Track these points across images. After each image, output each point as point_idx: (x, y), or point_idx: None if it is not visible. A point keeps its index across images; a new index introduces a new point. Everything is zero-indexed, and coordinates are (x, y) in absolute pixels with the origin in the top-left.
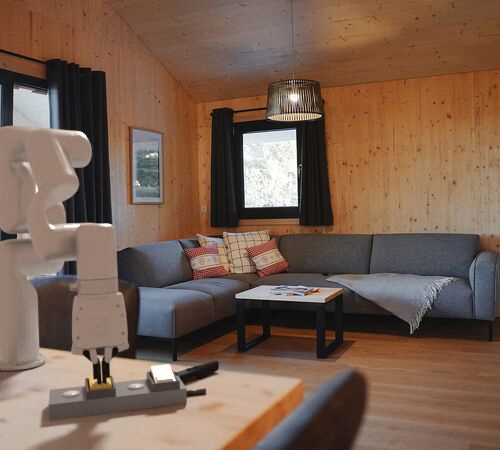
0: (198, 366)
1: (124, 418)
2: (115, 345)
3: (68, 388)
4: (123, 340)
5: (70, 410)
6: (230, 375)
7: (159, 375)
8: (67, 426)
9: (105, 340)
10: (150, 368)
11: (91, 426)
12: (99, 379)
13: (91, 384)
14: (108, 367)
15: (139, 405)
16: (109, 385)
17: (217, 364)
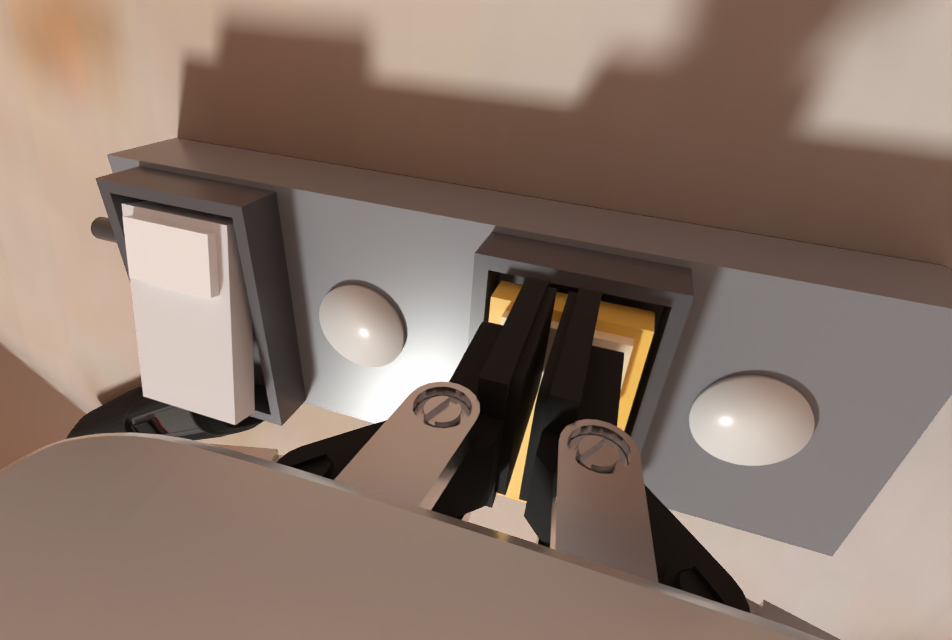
0: (119, 432)
1: (494, 65)
2: (226, 453)
3: (720, 511)
4: (36, 467)
5: (807, 259)
6: (55, 357)
7: (192, 286)
8: (886, 95)
9: (317, 615)
10: (244, 416)
11: (730, 11)
12: (581, 306)
13: (630, 366)
14: (468, 370)
15: (385, 180)
16: (508, 296)
17: (73, 429)
